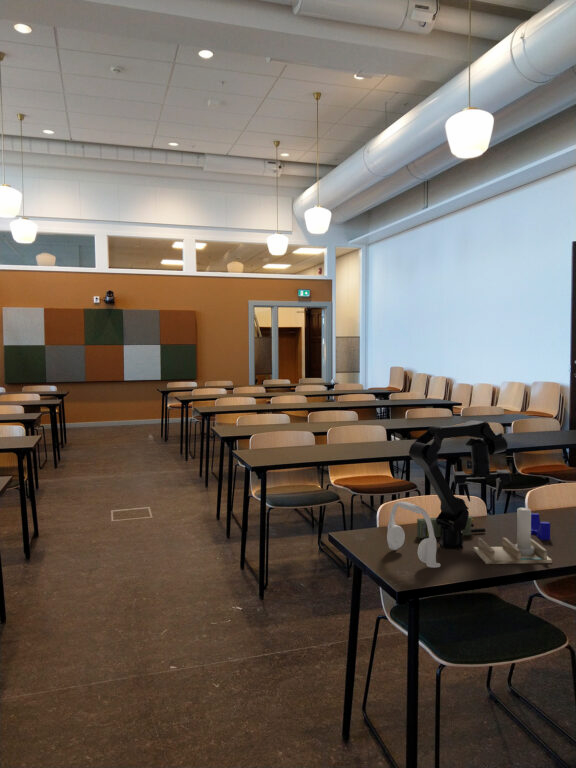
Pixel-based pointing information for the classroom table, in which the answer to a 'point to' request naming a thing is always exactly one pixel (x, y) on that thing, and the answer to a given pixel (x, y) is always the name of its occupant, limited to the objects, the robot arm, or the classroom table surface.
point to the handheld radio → (423, 529)
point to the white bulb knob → (524, 532)
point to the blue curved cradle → (540, 527)
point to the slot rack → (510, 553)
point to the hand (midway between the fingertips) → (483, 500)
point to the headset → (398, 536)
